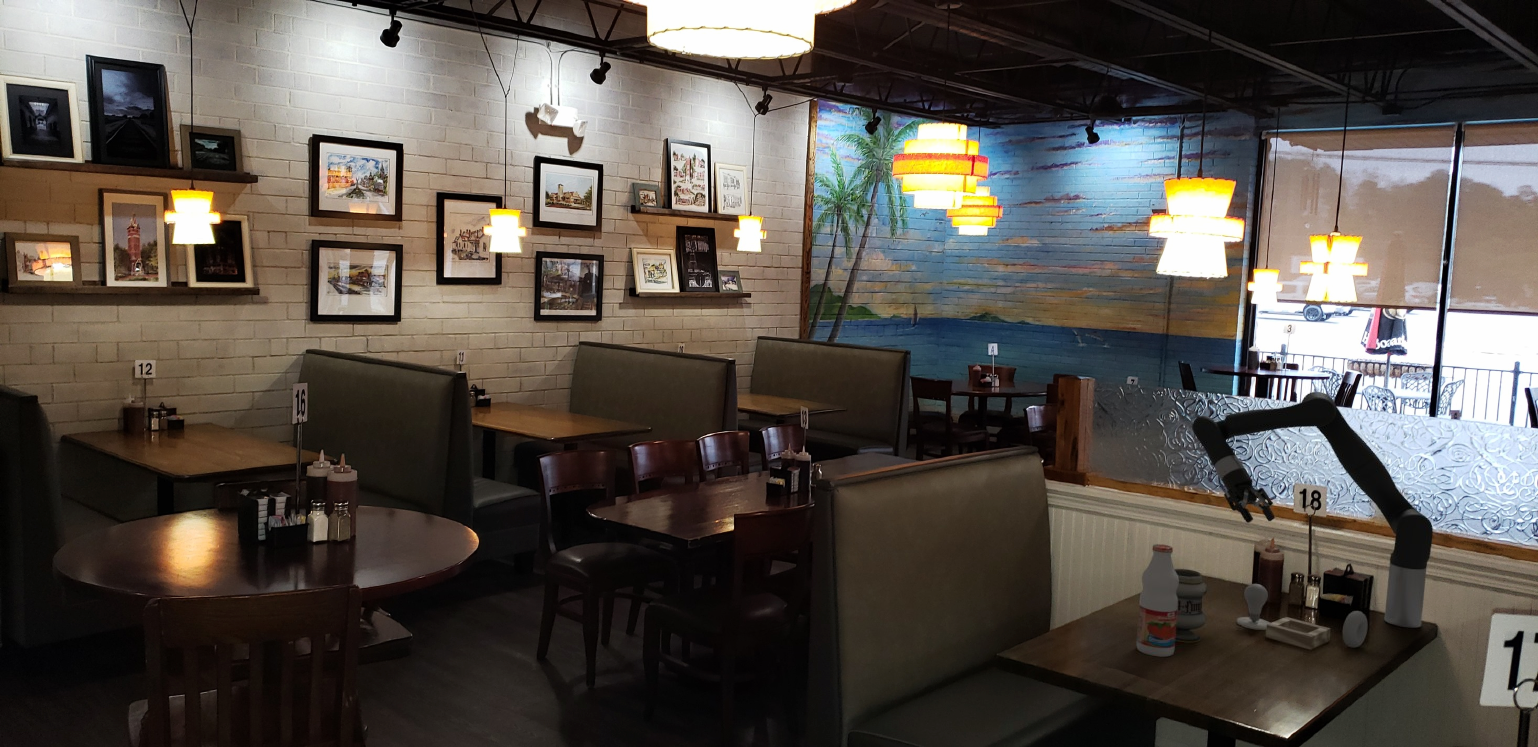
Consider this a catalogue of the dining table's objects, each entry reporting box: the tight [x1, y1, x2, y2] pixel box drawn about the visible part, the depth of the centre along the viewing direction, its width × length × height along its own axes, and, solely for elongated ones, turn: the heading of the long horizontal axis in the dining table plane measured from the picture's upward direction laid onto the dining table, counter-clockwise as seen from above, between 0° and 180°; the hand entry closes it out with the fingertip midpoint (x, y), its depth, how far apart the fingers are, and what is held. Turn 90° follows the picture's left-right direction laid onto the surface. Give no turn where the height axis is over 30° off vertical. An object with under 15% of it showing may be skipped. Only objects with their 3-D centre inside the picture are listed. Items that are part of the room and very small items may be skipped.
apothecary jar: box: [1174, 568, 1209, 644], centre depth 292 cm, size 12×12×18 cm
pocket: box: [1265, 616, 1331, 651], centre depth 294 cm, size 12×12×4 cm
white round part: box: [1236, 616, 1271, 631], centre depth 305 cm, size 9×9×1 cm
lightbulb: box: [1244, 583, 1269, 622], centre depth 305 cm, size 6×6×11 cm
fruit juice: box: [1136, 543, 1179, 658], centre depth 279 cm, size 9×9×28 cm
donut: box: [1342, 610, 1369, 649], centre depth 289 cm, size 10×3×10 cm, turn 129°
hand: (1261, 520), depth 311 cm, fingers open, 8 cm apart
